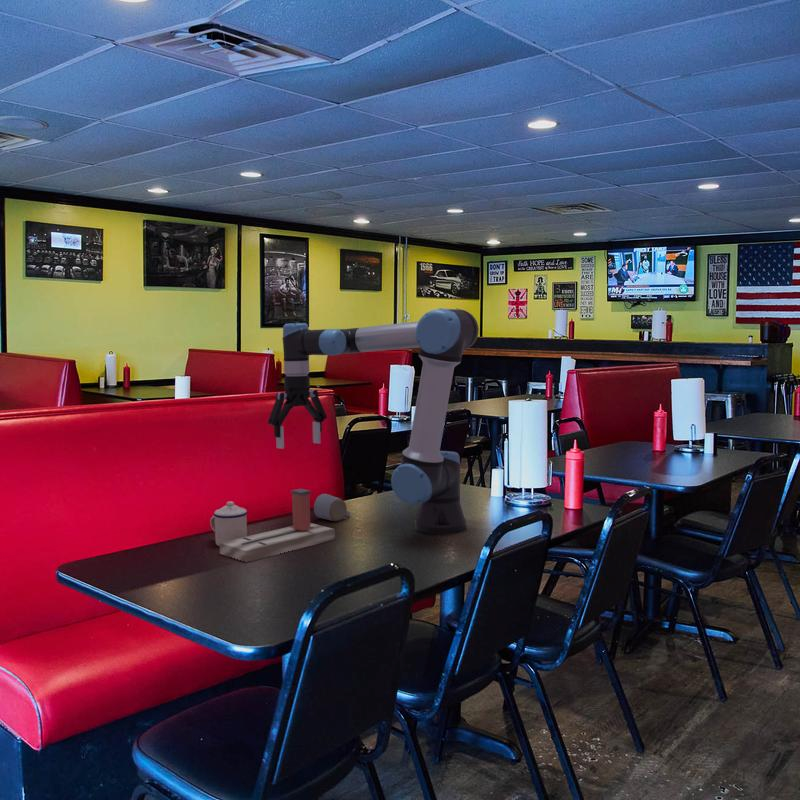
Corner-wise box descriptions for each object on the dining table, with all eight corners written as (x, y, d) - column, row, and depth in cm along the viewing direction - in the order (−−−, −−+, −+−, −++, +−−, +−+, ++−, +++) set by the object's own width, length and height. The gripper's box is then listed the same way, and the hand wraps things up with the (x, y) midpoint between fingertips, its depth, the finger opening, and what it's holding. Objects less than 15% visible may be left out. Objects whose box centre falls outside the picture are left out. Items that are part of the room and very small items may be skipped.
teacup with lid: (254, 541, 229) (253, 500, 228) (232, 549, 222) (230, 507, 221) (223, 536, 236) (221, 496, 235) (200, 543, 228) (198, 502, 227)
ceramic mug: (330, 524, 249) (330, 499, 248) (313, 519, 254) (313, 495, 254) (356, 518, 256) (356, 494, 256) (338, 514, 262) (338, 490, 261)
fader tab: (311, 528, 229) (310, 490, 228) (301, 531, 227) (300, 492, 226) (301, 526, 232) (300, 488, 231) (291, 528, 230) (290, 490, 229)
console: (334, 539, 230) (334, 528, 230) (246, 562, 209) (246, 550, 209) (307, 532, 239) (307, 521, 239) (219, 553, 217) (219, 542, 217)
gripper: (321, 372, 256) (323, 439, 258) (254, 377, 239) (256, 449, 241) (337, 373, 251) (338, 442, 253) (269, 377, 234) (271, 451, 235)
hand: (298, 445), depth 247 cm, fingers open, 13 cm apart
